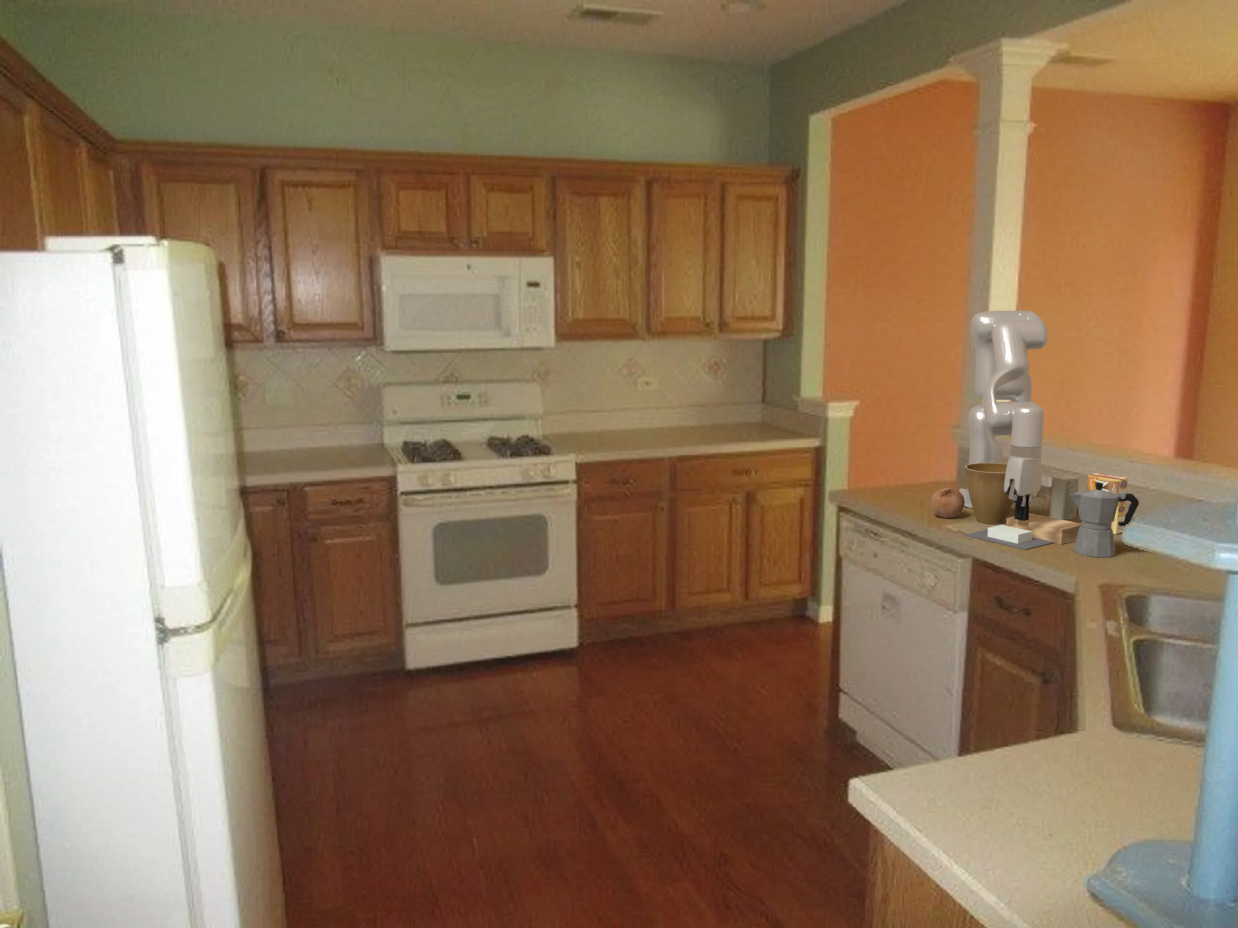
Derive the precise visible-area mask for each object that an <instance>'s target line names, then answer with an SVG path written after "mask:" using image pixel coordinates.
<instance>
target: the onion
mask: <svg viewBox="0 0 1238 928" xmlns="http://www.w3.org/2000/svg"><path fill="white" fill-rule="evenodd" d="M964 502H965V501H964V496H963V495H962V494H961V493H960V492H959V490H958V489H956V488H952V487H944V488H939V489H937V490H936V491H935V492H934V493H933V494H932V497H931V498H930V507H931V510H932V511H933V514H934V515H936V516H937V517H940V518H944V519H953V518H955V517H956V516H958V515H959V514H961V512H962V511H963V509H964V507H965V506H964Z"/></svg>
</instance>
